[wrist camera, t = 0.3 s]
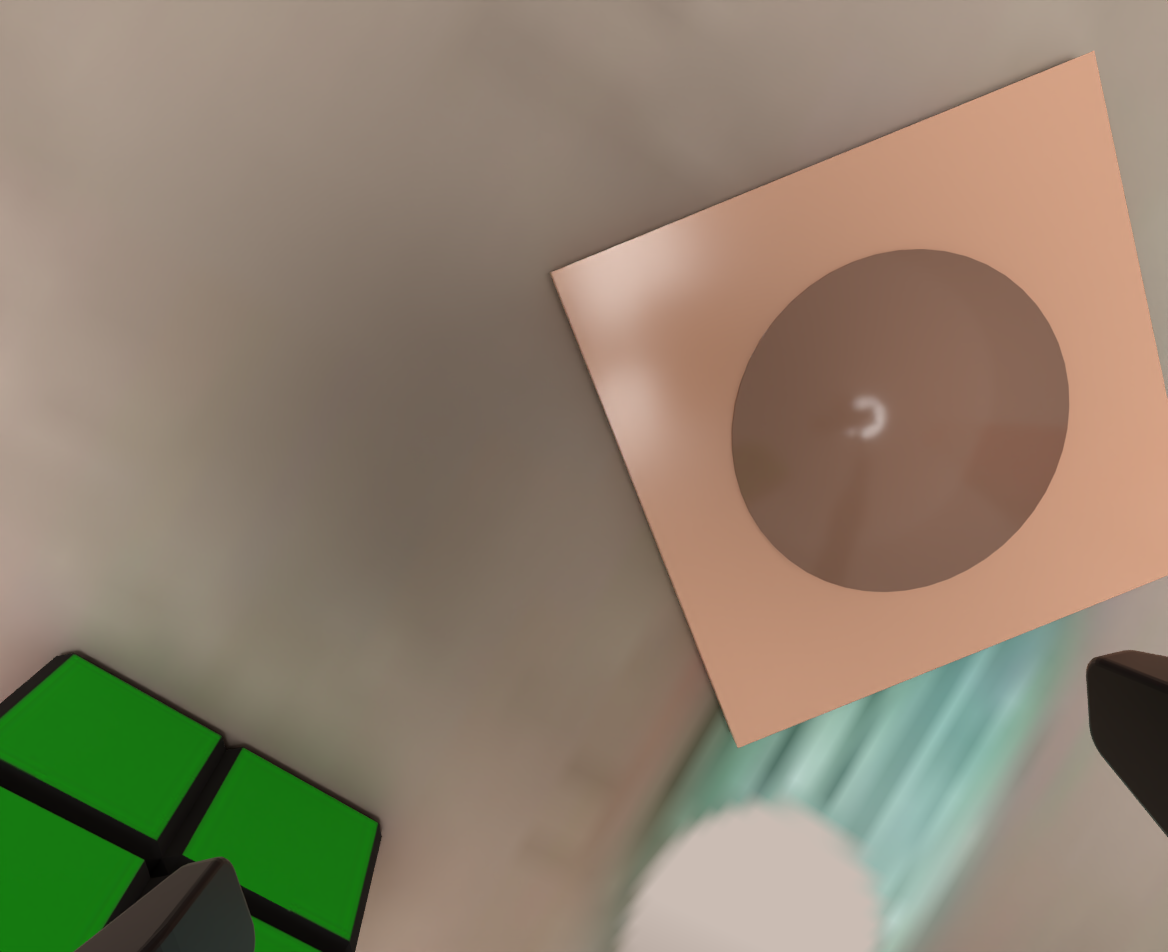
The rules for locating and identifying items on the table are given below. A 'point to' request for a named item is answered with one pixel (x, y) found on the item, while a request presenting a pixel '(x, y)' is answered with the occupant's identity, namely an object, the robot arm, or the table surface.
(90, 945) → the robot arm
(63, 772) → the puzzle cube
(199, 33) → the table surface
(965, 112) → the terracotta tile
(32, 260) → the table surface
